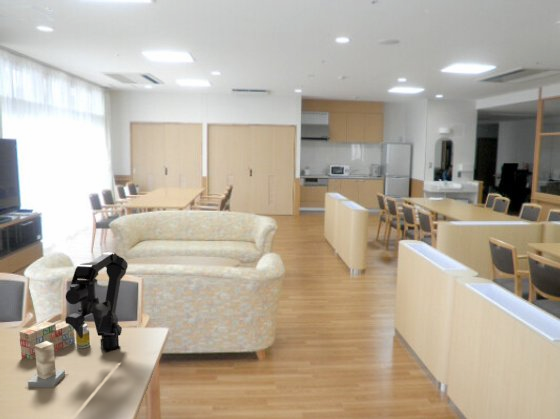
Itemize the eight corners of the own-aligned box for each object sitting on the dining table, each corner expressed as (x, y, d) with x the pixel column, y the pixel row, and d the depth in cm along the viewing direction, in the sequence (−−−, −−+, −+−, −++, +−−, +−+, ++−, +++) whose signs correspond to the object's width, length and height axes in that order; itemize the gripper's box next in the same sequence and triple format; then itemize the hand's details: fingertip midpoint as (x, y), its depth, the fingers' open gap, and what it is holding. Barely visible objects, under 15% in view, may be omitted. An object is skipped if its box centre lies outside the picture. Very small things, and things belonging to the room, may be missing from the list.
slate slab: (41, 374, 179) (41, 369, 179) (65, 375, 179) (64, 370, 179) (28, 387, 170) (27, 381, 170) (52, 387, 170) (52, 382, 170)
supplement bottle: (76, 344, 209) (75, 324, 208) (89, 342, 211) (88, 322, 210) (77, 349, 204) (75, 328, 203) (90, 347, 207) (89, 326, 205)
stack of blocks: (65, 340, 214) (63, 314, 212) (75, 343, 211) (73, 316, 210) (21, 359, 195) (19, 331, 193) (31, 362, 192) (29, 333, 191)
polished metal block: (49, 371, 178) (46, 340, 176) (55, 374, 175) (53, 343, 174) (37, 376, 174) (34, 345, 173) (44, 379, 172) (41, 348, 170)
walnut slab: (41, 378, 181) (41, 373, 180) (69, 379, 180) (69, 374, 180) (24, 393, 170) (24, 388, 170) (54, 394, 169) (54, 389, 169)
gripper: (86, 305, 175) (88, 345, 177) (120, 291, 192) (121, 328, 195) (63, 302, 179) (65, 341, 181) (98, 288, 196) (100, 324, 199)
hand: (89, 333), depth 189 cm, fingers open, 9 cm apart
